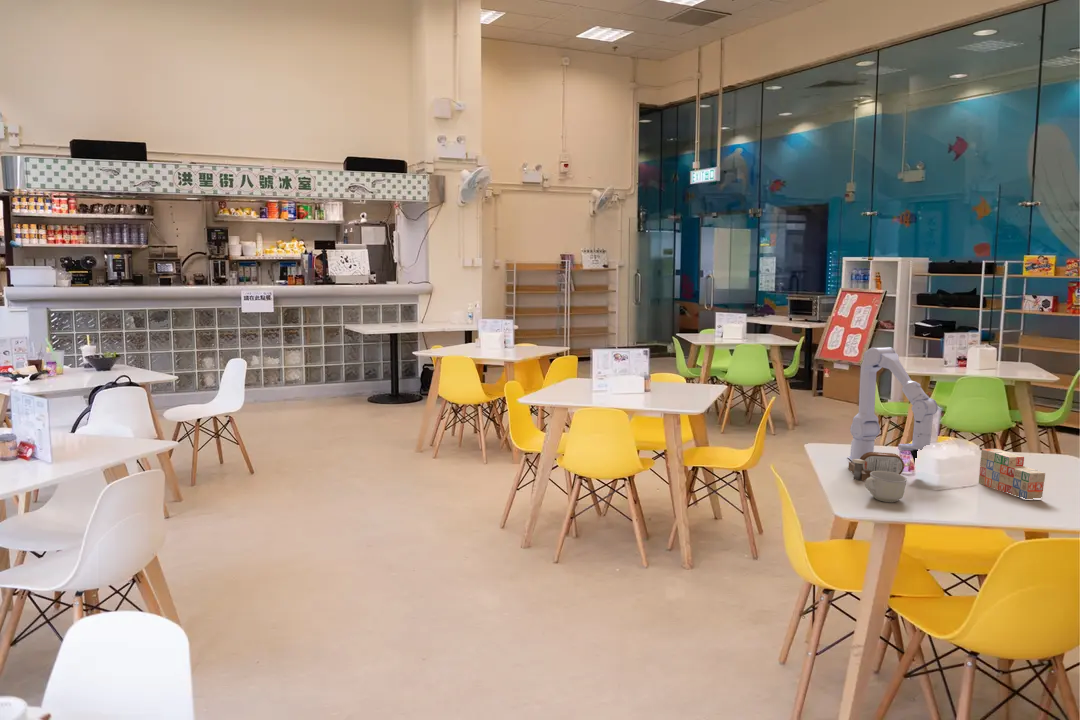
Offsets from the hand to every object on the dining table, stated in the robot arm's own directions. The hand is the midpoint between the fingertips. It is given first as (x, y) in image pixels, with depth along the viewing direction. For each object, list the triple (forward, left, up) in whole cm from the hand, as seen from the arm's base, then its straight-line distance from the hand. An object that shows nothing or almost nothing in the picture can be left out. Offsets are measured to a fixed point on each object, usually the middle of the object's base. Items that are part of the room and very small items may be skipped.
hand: (918, 471), depth 284 cm
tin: (0, -13, -3) cm, 13 cm away
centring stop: (0, -20, -2) cm, 20 cm away
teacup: (+30, -22, -3) cm, 37 cm away
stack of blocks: (+11, +26, -3) cm, 28 cm away
